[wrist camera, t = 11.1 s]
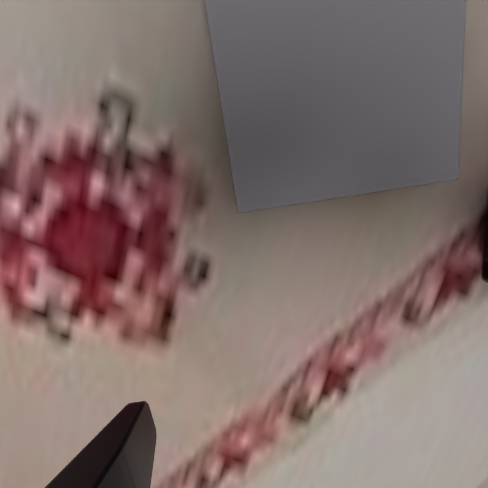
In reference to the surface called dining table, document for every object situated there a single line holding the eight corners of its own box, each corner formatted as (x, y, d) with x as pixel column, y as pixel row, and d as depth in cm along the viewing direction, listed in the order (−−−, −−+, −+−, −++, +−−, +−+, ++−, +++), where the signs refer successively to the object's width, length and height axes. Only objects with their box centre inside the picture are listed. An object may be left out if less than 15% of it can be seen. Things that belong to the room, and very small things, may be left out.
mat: (448, -77, 16) (470, -100, 14) (441, 176, 19) (458, 179, 18) (199, -36, 16) (196, -53, 14) (237, 208, 19) (238, 213, 18)
